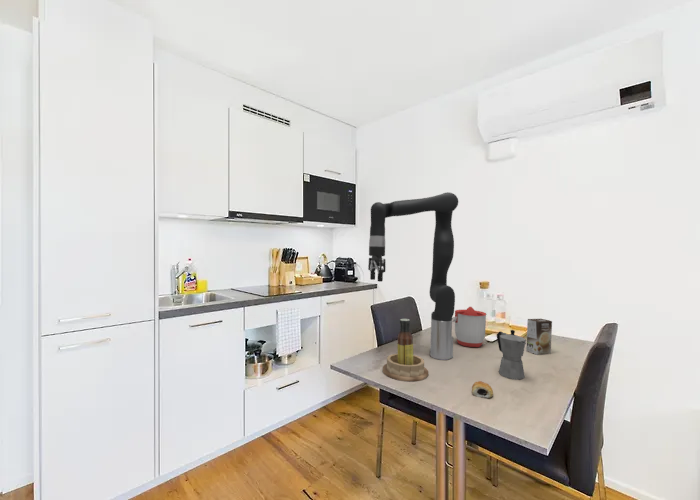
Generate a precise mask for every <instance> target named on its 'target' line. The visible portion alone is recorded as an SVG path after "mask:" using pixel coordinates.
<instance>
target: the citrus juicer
mask: <svg viewBox="0 0 700 500" xmlns="http://www.w3.org/2000/svg"><path fill="white" fill-rule="evenodd" d="M486 317H487V312H484V311H482V310H481V311H480V310H475V309H474V308H473V306H468V307H467V308H466V309H455V310H454V316H452V323H453V322H454V333H455V338H456V342H457V343H458V344H459V345H461V346H462V347H469V348H481V347H482V345H483V343H484V340H485V335H486V327H487V326H486V324H487V323H486V322H487V321H486V320H487V318H486Z"/></svg>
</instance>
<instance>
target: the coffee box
mask: <svg viewBox="0 0 700 500" xmlns="http://www.w3.org/2000/svg"><path fill="white" fill-rule="evenodd" d="M526 327H527V328H526V346H525V349H526V350H525V351H526V352H528V351H529V352H528V353H531V354H533V353H534V355H537V356H538V354H540V355H548V354H547V353H551V354H552V331H553V330H552V329H553V328H552V327H553V321H552V320H550V319H549V320H548V319H546V318H545V319H543V318H527V325H526Z"/></svg>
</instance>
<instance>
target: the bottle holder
mask: <svg viewBox="0 0 700 500" xmlns="http://www.w3.org/2000/svg"><path fill="white" fill-rule="evenodd" d="M382 373H383V374H384V375H385V376H386V377H388V378H390V379H394V380H397V381H401V382H420V381H423V380H426V379H427V378H428V377H429V369H428V368H427V367H425V360H424V358H422V357H420V356H418V355H417V354H413V365H402V364H398V353H392V354H389V355H388V356H387V358H386V363H385V364H384V365H383V366H382Z"/></svg>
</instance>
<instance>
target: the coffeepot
mask: <svg viewBox="0 0 700 500" xmlns="http://www.w3.org/2000/svg"><path fill="white" fill-rule="evenodd" d="M509 331H510V334H509V333H508V334H507V333H506V332H503V331H498V332H497V333H496V340H497V345H498V349H499V351H500V352H501V353H502V356H501V359H500V363H499V368H498V373H499V375H501V377H503V378H506V379H509V380H515V381H517V380H518V381H520V380H523V379H525V378H526V375H525V371H524V365H523V364H524V362H523V360H522V357H523V356H524V351H525V349H526V345H527V338H526V339H525V338H524V337H523V336H520V335H517V334H515V333H516V330H514V329H510V330H509Z"/></svg>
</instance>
